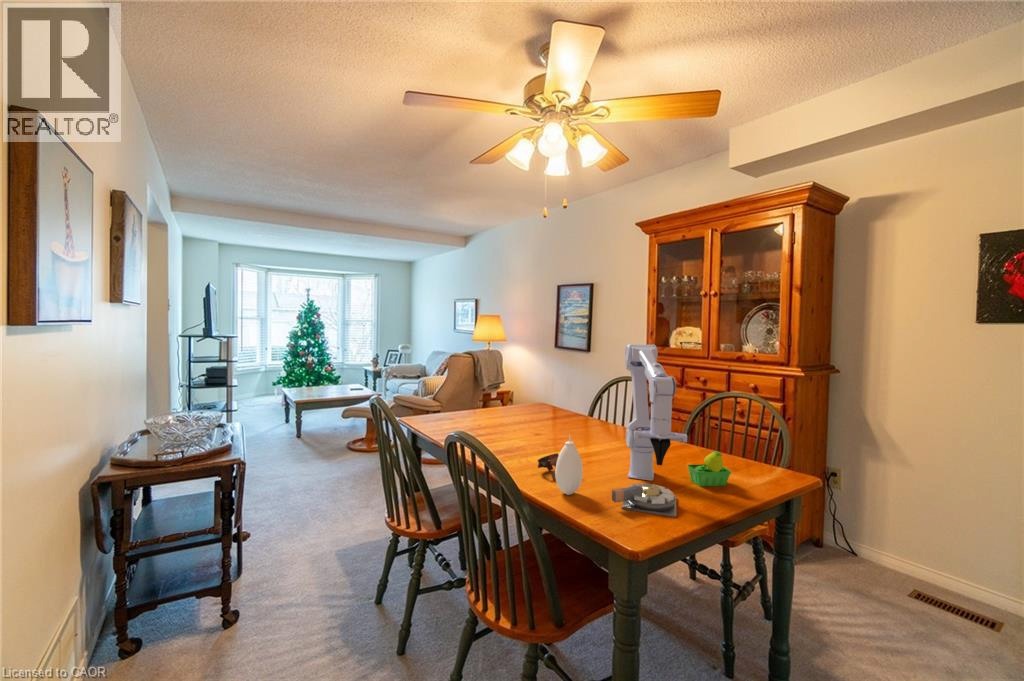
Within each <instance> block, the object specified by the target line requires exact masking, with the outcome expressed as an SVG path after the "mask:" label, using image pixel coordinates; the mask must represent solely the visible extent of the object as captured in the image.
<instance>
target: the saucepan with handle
mask: <svg viewBox="0 0 1024 681" xmlns="http://www.w3.org/2000/svg"><path fill="white" fill-rule="evenodd" d="M645 484H646V483H637V484H635V483H633V484H632V485H629V486H628V487H623V488H622V487H619V488H613V489H611V501H612V502H614V503H623V501H628V500H637V501H641V502H644V503H648V502H650V503H651V504H665V502H666V503H669V502H671V501H672V500H674V496H675V494H674V492H673V491H672V490H670V488H666V487H665V486H663V485H662V486H661V485H658V484H652V485H655V486H658V487H659V494H660V495H659V496H649V495H646V494H643V488H642V485H645Z"/></svg>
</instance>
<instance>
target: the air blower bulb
mask: <svg viewBox="0 0 1024 681" xmlns="http://www.w3.org/2000/svg"><path fill="white" fill-rule="evenodd" d="M571 439H572V438H571V434H569V436H568V441H566V442H565V443H564V446H562V448H561V450H560V452H559V453H558V455H559V456H558V459H557V463H556V468H555V471H554V472H555V477H556V480H555V482H556V485H557V487H558V489H559V490H560V491H561V492H562V493H563V494H565V495H566V496H570V495H573V494H575V492H577V491H578V490H579V489H580V486H581V483H582V479H583V464H582V463H583V462H582V459H581V456H580V453H579V450H578V449H577V447H576V445H575V443H574V441H572V440H571Z"/></svg>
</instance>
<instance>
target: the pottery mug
mask: <svg viewBox="0 0 1024 681" xmlns="http://www.w3.org/2000/svg"><path fill="white" fill-rule="evenodd" d="M558 456H559V453H558V452H557V453H556V452H555V453H552V454H549V455H544V456H543V457H540V458H539V459H537V463H538V464H537V468H538V469H541V468H545V469H547V470H548V471H549V472H551V471H552V470H554V468H555V469H556V463H557V459H558ZM550 475H551V478H552V480H553V481H556V477H555V471H554V472H553V473H551V474H550Z"/></svg>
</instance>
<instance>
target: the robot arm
mask: <svg viewBox="0 0 1024 681" xmlns="http://www.w3.org/2000/svg"><path fill="white" fill-rule="evenodd" d="M658 352H659V351H658V347H657V345H655V344H633V343H632V344H631V343H628V344H627V345H626V346H625V350H624V361H625V369H626V370H627V371H629V372H630V375H631V383H632V385H631V386H632V399H633V401H632V403H633V417H634V419H632V421H630V422H629V423H627V425H626V432H625V442H626V445H627V447H628V448H629V449H630V459H629V460H630V464H629V471H628V474H627V478H629V479H635V480H636V479H637V480H644V481H645V480H646V481H654V478H655V470H653V469H654V454H655V462H656V465H657V466H663V463H664V459H665V456H666V453H667V451H668V450H669V448H670V447H671V445H672V444H671V441H674V442H683V443H688V435H687V433H679V432H672V415H673V414H672V413H673V411H672V410H673V397H675V396H676V391H677V382H676V380H675V379H676V378H675V377H674V376H671V375H668V373H667V372H666V371H665V368H664V367H663V365H662V364H660V363H659V362H657V359H658V355H659V354H658ZM647 381H648V382H647ZM647 383H649V384H648V388H647ZM648 391H649V400H648ZM648 401H650V403H651V404H650V405H651V406H650V415H649V402H648Z"/></svg>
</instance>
